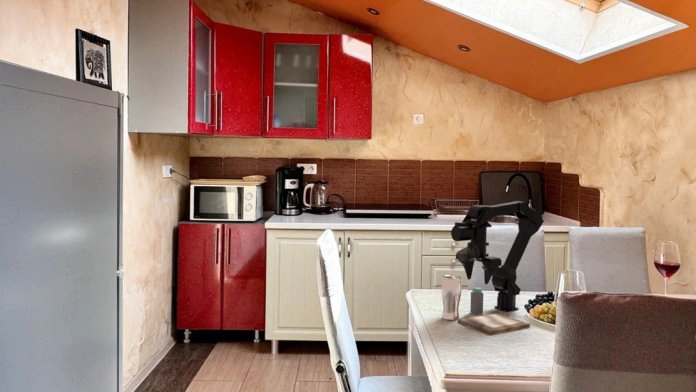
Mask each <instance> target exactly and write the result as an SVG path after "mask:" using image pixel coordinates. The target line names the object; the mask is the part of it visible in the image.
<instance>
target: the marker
mask: <svg viewBox="0 0 696 392" xmlns="http://www.w3.org/2000/svg"><path fill="white" fill-rule="evenodd" d="M469 310H470V313H471V314H474V315H475V316H478V315H484V292H483V288H481V287H475V286H474V287H472V292H470V309H469Z"/></svg>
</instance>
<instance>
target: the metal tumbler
mask: <svg viewBox="0 0 696 392" xmlns="http://www.w3.org/2000/svg"><path fill="white" fill-rule="evenodd" d="M461 297H462V277H461V276H460V275H457V274H456V275H455V274H445V275H442V278H441V298H442V304H443V309H442V310H443V311H442V315H441V318H442V319H443V320H445V321H450V322H452V321H453V322H454V321H455V322H456V321H458V319H460V312H459V311H460V310H459V306H460V302H461Z"/></svg>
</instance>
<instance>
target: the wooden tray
mask: <svg viewBox="0 0 696 392" xmlns="http://www.w3.org/2000/svg"><path fill="white" fill-rule="evenodd" d="M457 323H458V324H461V325H463V326H466V327H469V328H471V329H474V330H477V331H479V332H481V333H484V334H487V335H489V336H492V335H497V334H502V333H507V332H513V331H518V330H523V329H528V328H530V327H531V323H529V322H526V321H523V320H521V319H517V318H515V317H511V316H508V315H505V314H503V313H501V312H496V311H495V312H489V313H483V314H477V315H473V316H467V317H461V318H460V317H459V319H458V320H457Z"/></svg>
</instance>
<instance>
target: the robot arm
mask: <svg viewBox="0 0 696 392" xmlns="http://www.w3.org/2000/svg"><path fill="white" fill-rule="evenodd" d="M511 214H514V215H515V217H516V218H517V219H518V223H517V228H518V232H517V235H516V236H515V239H514V241H513V243H512V246H511V248H510V250H509V252H508V254H507V257H506V258H505V261H504V263H503V264H502V262H503V260H502V259H501V258H500V257H497V256H489V253H487V247H488V246H490V243H489V242H487V229H488V228H491V227H493V225H492V224H490V222H489V221H491V220H492V219H494V218H495V217H500V216H504V215H511ZM543 223H544V219H543V216H542V214H540V213H539V212H537V211H536V210H534V209H533V208H532V207H530V206H529V205H527V203H525V202H524V201H520V200H514V201H511V202H504V203H498V204H493V205H481V204H479V205H478V204H472V205H470V207H469V209H468V212H467V214H466V215H465V217H464V218H463V220H462V221H461V222H458V221H455V222H454V225H453V226H452V228H451V231H450V235H451V238H452V240H453V241H455V242H465V241H468V242H467V244H466V247H463V248H461V249H460V250H457V252H456V253H455V259H456V260H457V261H458V262H459V263H461V265H462V266H463V269H464V271H465V275H466V278H467V280H471V279H472V276H473V270H474V265H475V261H476V262H480V263H481V264H482V266H481V268H482V269H483V271H484V272H483V275H484V276H483V277H484V278H483V279H484V280H483V281H484V284H485V285H489V283H490V280H491V282H492V286H493V288H494V291H495V292H497V296H496V298H497V299H496V305H495V306H494V308H495V309H498V310H501V311H503V312H510V311H512V312H513V311H517V310H519V307H517V306H516V300H517V295H520V293H521V291H522V290H521V288H520V286H519V285H518V284H517V283H516V282H517V269H518V266H519V264H520V262H521V260H522V257H523V255H524V253H525V251H526V249H527V246H528V244H529V243H530V240H531V238H532V237H533V236H534V235H536V234H537V233H538V231H539V230H540V229H541V227H542V226H543Z"/></svg>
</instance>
